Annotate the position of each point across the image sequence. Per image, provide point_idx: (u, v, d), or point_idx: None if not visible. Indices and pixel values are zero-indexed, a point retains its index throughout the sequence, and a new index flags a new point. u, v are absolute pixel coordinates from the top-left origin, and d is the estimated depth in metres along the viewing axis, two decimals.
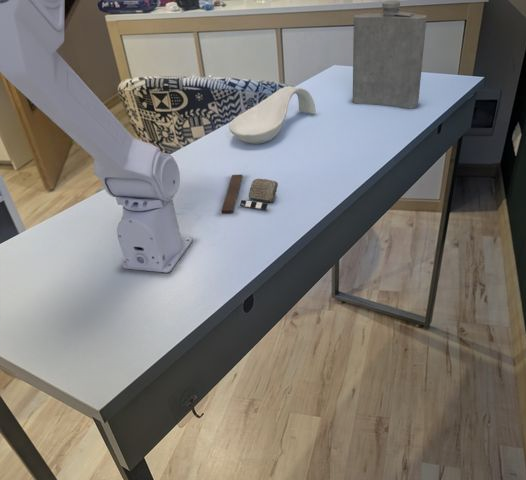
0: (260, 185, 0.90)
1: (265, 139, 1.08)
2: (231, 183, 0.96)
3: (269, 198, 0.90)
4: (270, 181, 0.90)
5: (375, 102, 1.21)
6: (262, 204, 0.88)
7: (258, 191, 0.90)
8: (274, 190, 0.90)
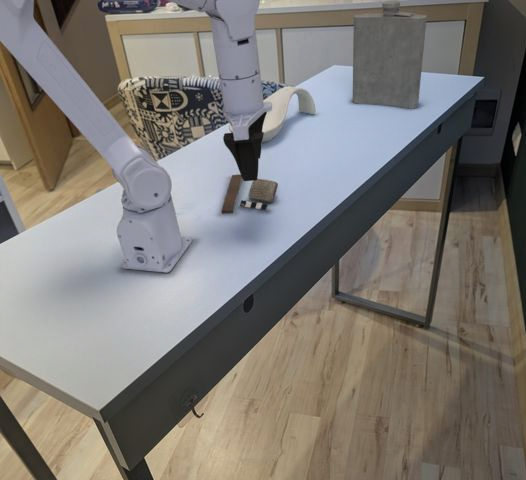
0: (260, 185, 0.90)
1: (265, 139, 1.08)
2: (231, 183, 0.96)
3: (269, 198, 0.90)
4: (270, 181, 0.90)
5: (375, 102, 1.21)
6: (262, 204, 0.88)
7: (258, 191, 0.90)
8: (274, 190, 0.90)
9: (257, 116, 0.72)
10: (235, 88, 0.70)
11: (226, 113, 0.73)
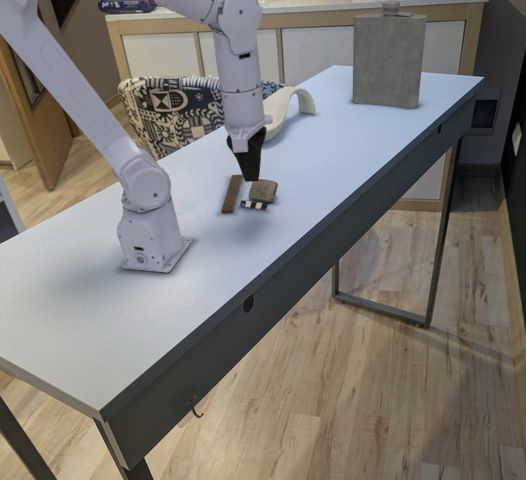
0: (260, 185, 0.90)
1: (265, 139, 1.08)
2: (231, 183, 0.96)
3: (269, 198, 0.90)
4: (270, 181, 0.90)
5: (375, 102, 1.21)
6: (262, 204, 0.88)
7: (258, 191, 0.90)
8: (274, 190, 0.90)
9: (257, 129, 0.73)
10: (235, 101, 0.71)
11: (227, 125, 0.74)
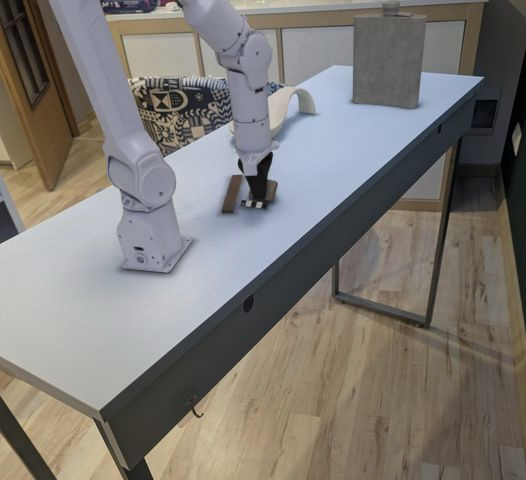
0: None
1: None
2: (231, 183, 0.96)
3: (269, 198, 0.90)
4: (270, 181, 0.90)
5: (375, 102, 1.21)
6: (262, 204, 0.88)
7: None
8: (274, 190, 0.90)
9: (265, 154, 0.81)
10: (246, 130, 0.79)
11: (238, 150, 0.82)
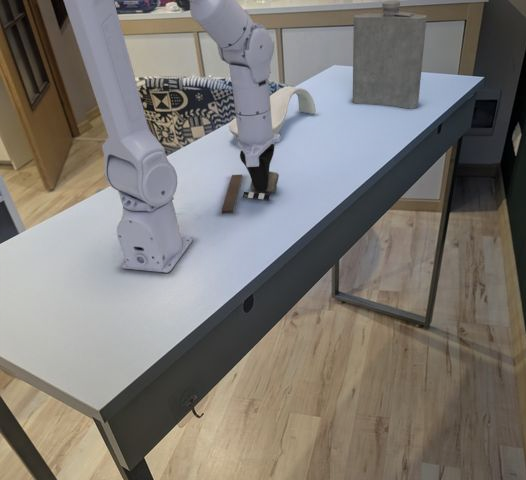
0: None
1: None
2: (231, 183, 0.96)
3: (271, 189, 0.92)
4: (271, 172, 0.93)
5: (375, 102, 1.21)
6: (265, 195, 0.91)
7: None
8: (275, 181, 0.92)
9: (267, 146, 0.84)
10: (248, 122, 0.82)
11: (240, 142, 0.85)
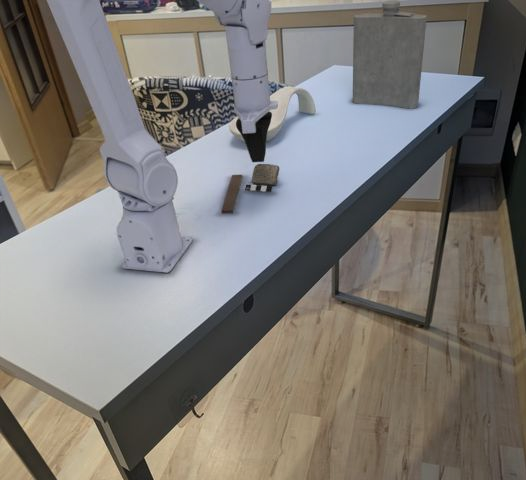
0: (263, 169, 0.95)
1: None
2: (231, 183, 0.96)
3: (272, 181, 0.94)
4: (272, 165, 0.95)
5: (375, 102, 1.21)
6: (267, 187, 0.93)
7: (261, 175, 0.95)
8: (276, 173, 0.94)
9: (264, 113, 0.81)
10: (245, 87, 0.79)
11: (236, 109, 0.82)
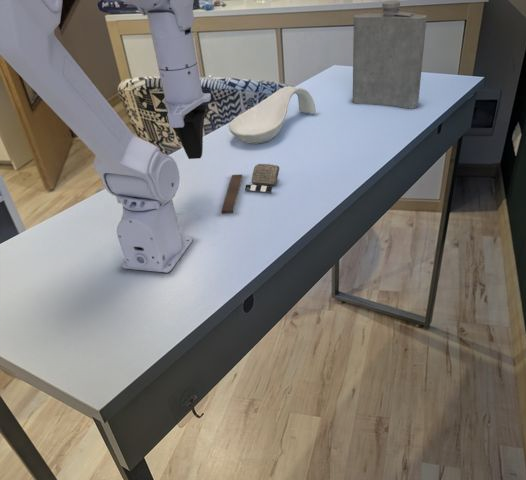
0: (262, 169, 0.95)
1: (265, 139, 1.08)
2: (231, 183, 0.96)
3: (272, 181, 0.94)
4: (272, 165, 0.95)
5: (375, 102, 1.21)
6: (267, 187, 0.93)
7: (261, 175, 0.95)
8: (276, 174, 0.94)
9: (194, 106, 0.76)
10: (171, 78, 0.74)
11: (166, 102, 0.77)
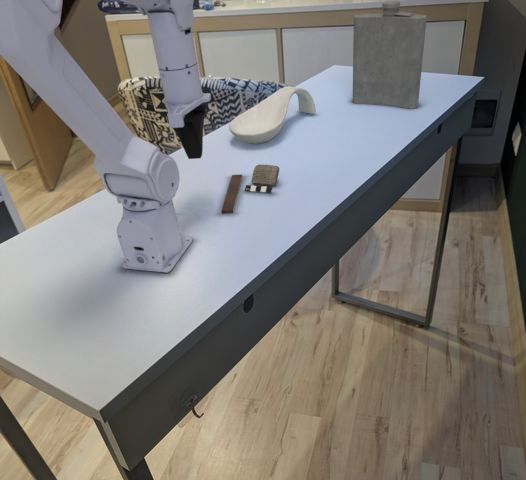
0: (263, 170, 0.95)
1: (265, 139, 1.08)
2: (231, 183, 0.96)
3: (272, 182, 0.94)
4: (272, 166, 0.95)
5: (375, 102, 1.21)
6: (267, 188, 0.93)
7: (261, 176, 0.95)
8: (276, 174, 0.94)
9: (194, 106, 0.76)
10: (171, 78, 0.74)
11: (166, 102, 0.77)
